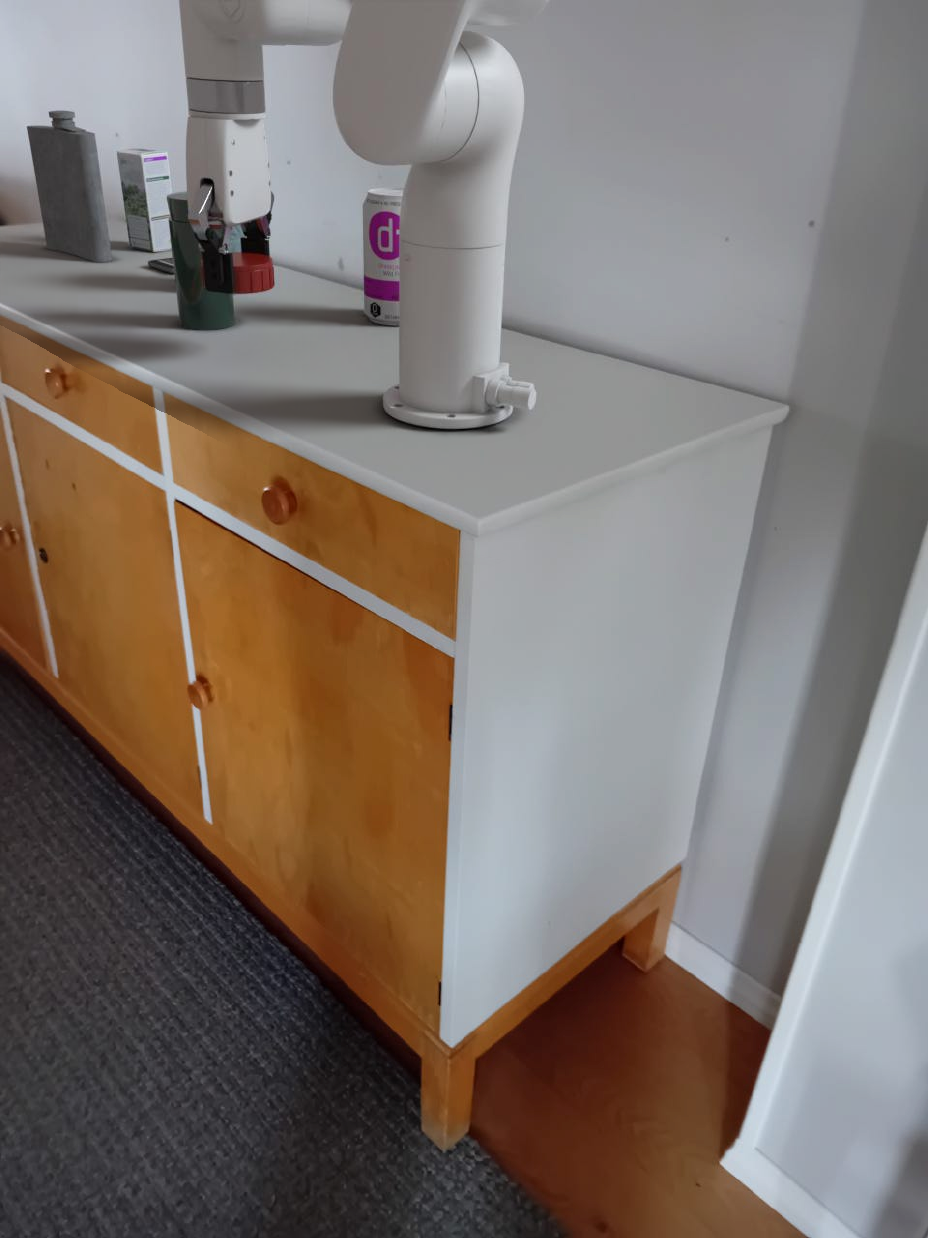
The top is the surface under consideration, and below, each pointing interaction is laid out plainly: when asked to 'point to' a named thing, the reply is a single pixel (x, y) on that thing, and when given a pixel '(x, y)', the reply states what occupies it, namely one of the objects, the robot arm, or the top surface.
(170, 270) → the smartphone
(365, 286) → the supplement can
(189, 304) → the jar
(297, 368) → the top surface
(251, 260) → the lid
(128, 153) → the syrup box
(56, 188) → the hip flask
